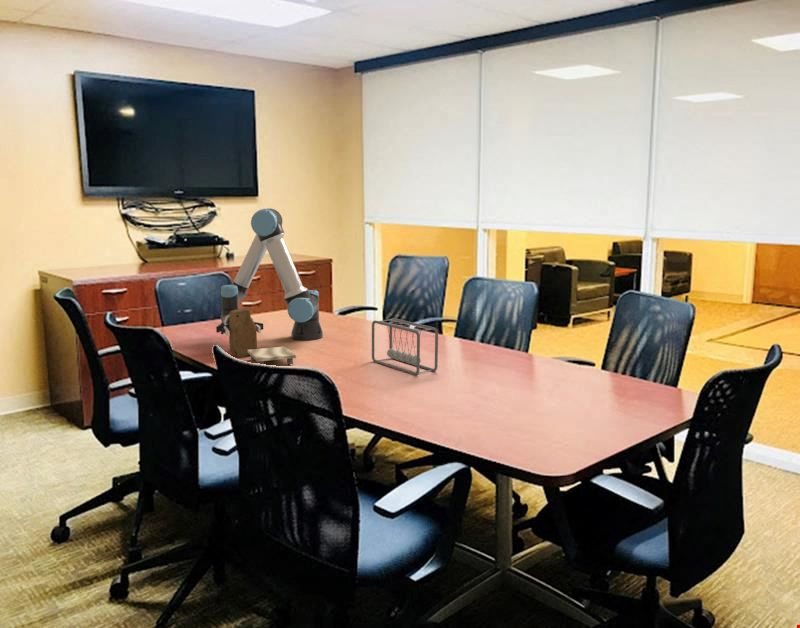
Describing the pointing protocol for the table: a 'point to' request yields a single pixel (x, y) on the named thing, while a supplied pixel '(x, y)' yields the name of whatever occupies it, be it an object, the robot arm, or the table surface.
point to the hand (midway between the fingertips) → (243, 331)
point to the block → (242, 332)
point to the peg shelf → (271, 354)
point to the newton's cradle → (402, 355)
